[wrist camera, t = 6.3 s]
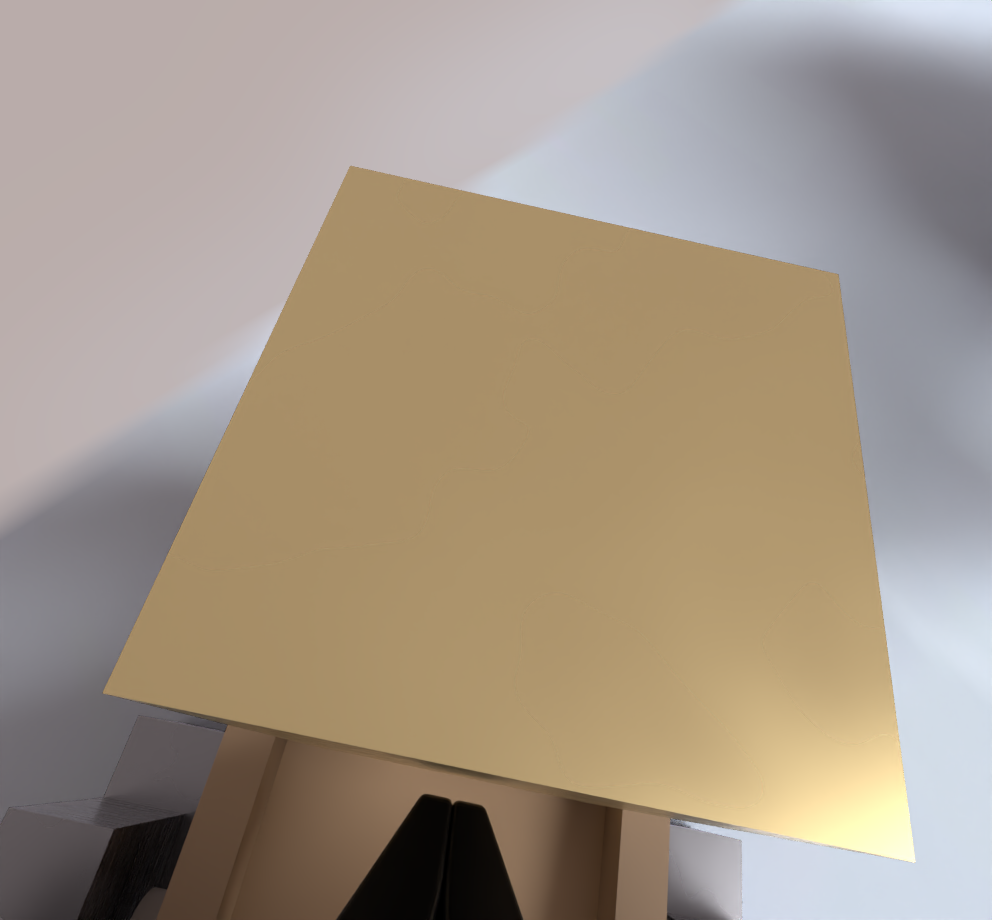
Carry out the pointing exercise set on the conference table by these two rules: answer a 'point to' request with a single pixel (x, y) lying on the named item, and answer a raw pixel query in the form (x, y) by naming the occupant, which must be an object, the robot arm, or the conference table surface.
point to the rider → (546, 525)
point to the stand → (168, 816)
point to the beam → (370, 826)
